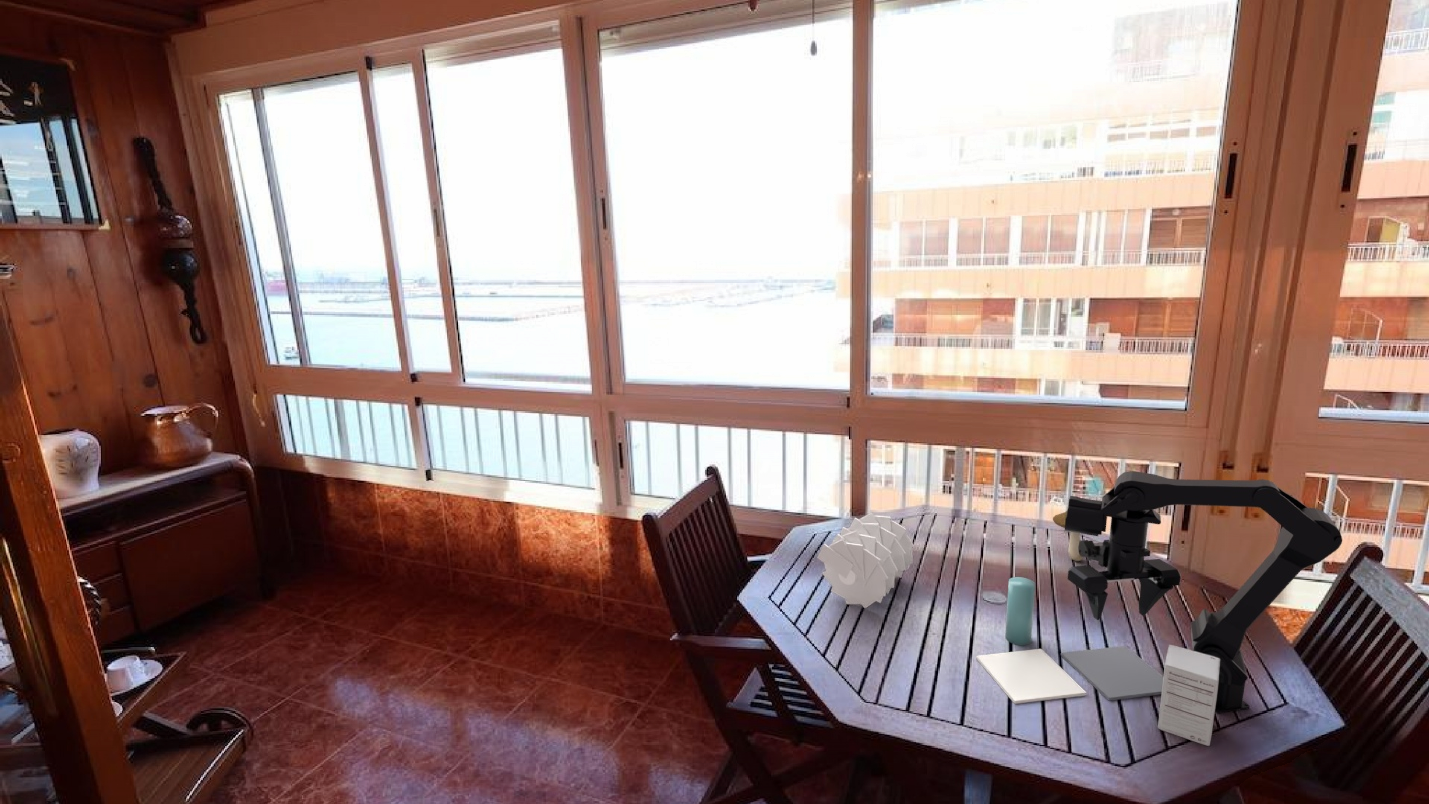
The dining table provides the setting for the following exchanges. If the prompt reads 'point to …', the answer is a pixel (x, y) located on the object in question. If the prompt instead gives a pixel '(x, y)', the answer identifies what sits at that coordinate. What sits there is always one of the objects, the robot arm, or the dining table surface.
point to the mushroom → (1074, 537)
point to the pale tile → (1030, 676)
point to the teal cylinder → (1020, 611)
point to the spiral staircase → (866, 559)
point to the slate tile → (1116, 672)
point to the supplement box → (1189, 694)
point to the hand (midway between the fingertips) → (1119, 616)
